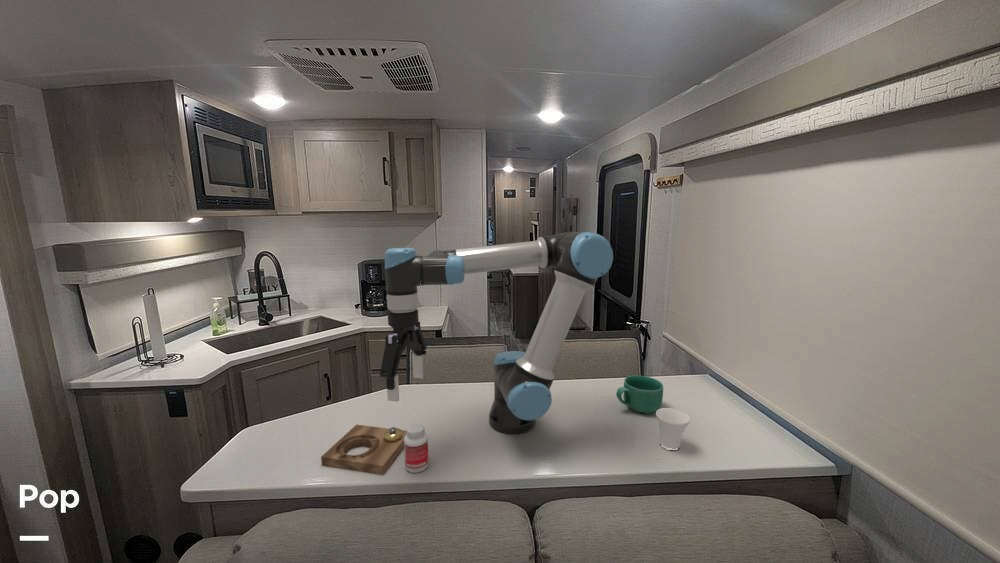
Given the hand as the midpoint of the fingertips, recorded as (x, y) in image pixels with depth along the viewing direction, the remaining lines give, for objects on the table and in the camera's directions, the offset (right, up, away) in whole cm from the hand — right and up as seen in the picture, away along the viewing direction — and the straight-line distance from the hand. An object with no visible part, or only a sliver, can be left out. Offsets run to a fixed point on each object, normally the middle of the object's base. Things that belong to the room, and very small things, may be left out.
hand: (406, 388), depth 96 cm
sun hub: (-7, -17, +10) cm, 21 cm away
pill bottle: (+2, -21, +1) cm, 22 cm away
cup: (+74, -20, +10) cm, 77 cm away
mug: (+72, -16, +31) cm, 80 cm away
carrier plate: (-13, -20, +8) cm, 25 cm away
